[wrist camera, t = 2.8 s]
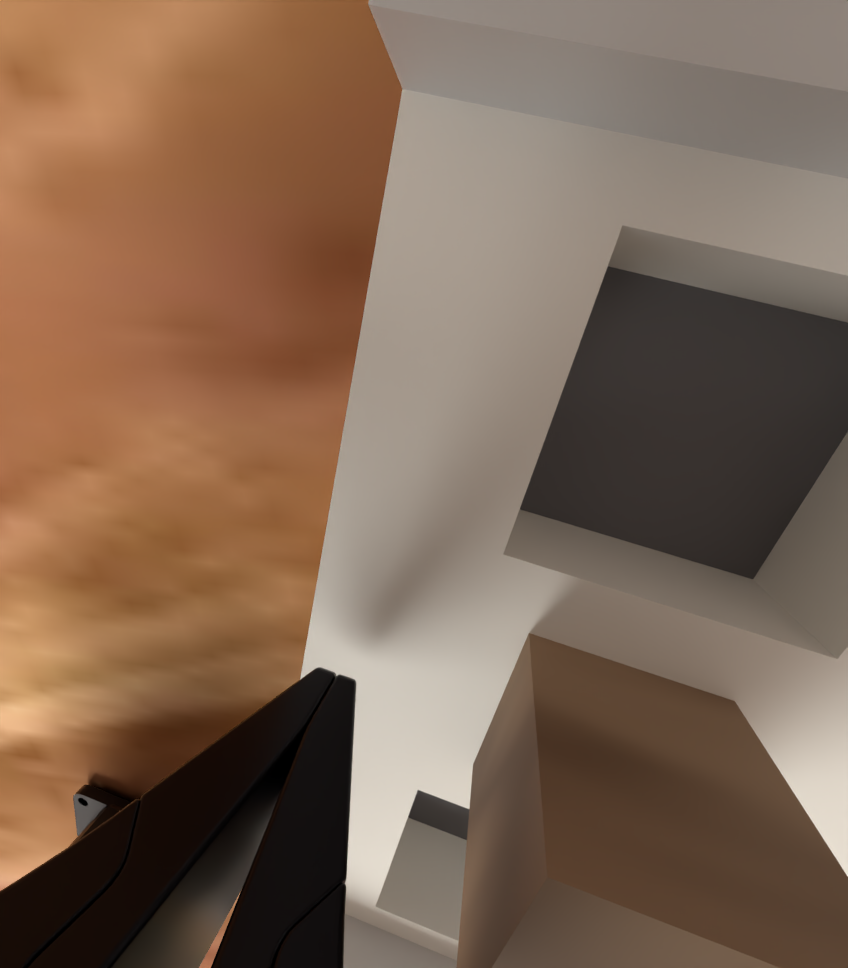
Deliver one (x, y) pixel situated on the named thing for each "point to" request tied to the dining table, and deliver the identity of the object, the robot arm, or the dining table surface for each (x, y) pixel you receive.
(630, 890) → the walnut block
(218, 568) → the dining table surface
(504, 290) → the box
